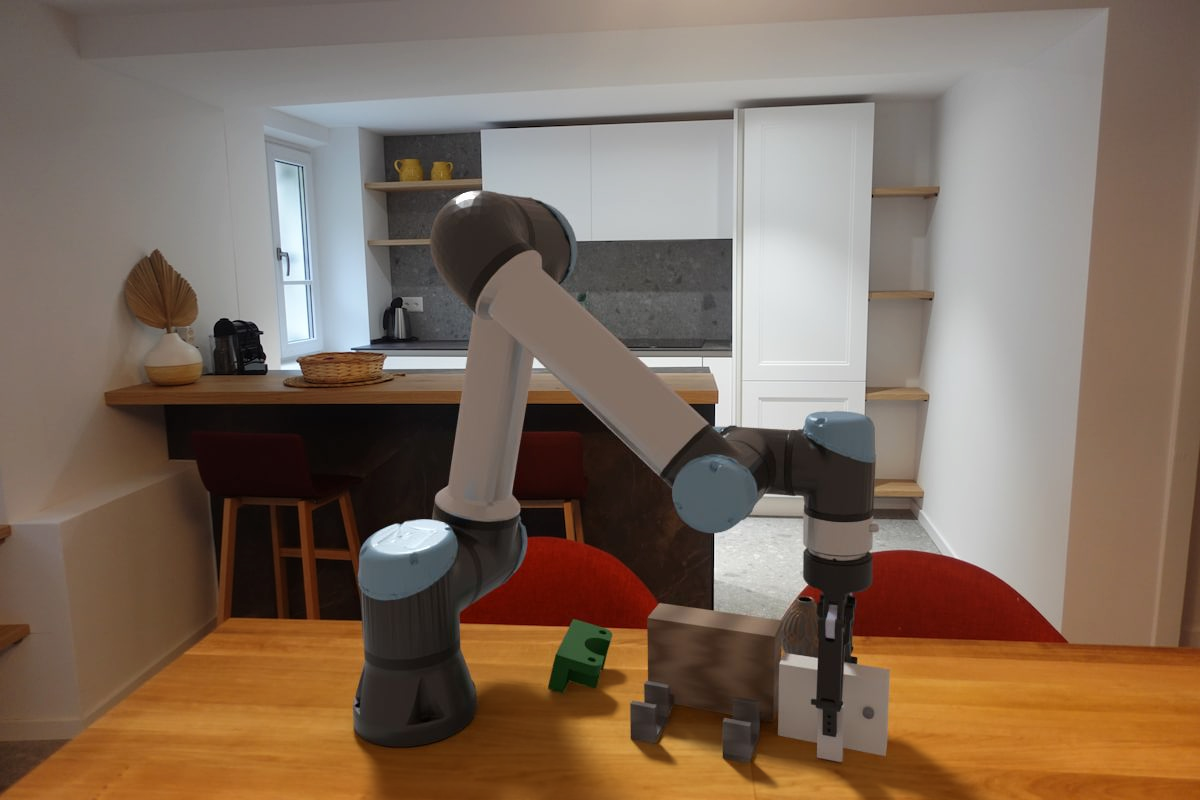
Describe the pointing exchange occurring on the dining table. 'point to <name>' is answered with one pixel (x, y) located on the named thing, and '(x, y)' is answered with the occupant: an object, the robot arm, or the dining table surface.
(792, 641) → the vase
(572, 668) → the clamp
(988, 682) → the dining table surface
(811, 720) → the door
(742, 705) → the cabinet
